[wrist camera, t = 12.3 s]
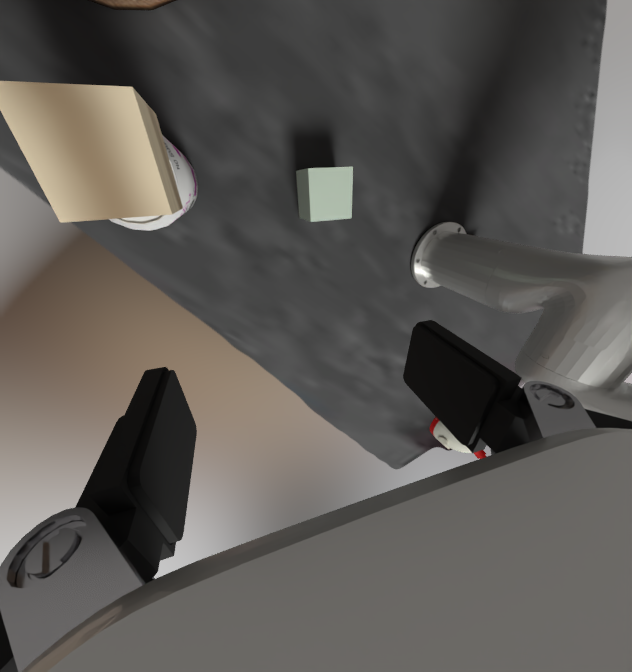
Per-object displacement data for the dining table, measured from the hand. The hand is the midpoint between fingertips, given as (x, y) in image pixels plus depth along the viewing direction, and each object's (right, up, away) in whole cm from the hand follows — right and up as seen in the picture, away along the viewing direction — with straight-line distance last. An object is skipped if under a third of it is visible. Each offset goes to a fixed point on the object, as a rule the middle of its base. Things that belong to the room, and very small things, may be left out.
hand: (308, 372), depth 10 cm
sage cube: (0, +23, +28) cm, 36 cm away
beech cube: (-14, +14, +9) cm, 22 cm away
